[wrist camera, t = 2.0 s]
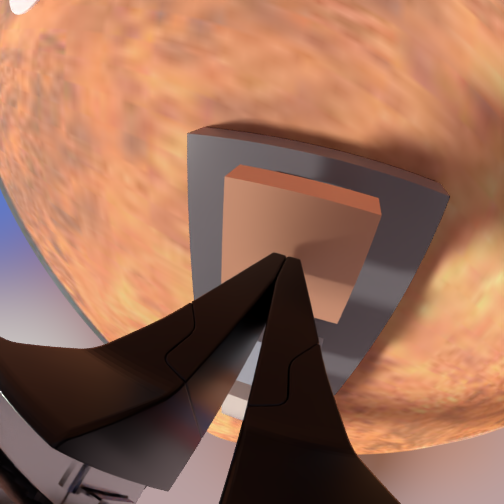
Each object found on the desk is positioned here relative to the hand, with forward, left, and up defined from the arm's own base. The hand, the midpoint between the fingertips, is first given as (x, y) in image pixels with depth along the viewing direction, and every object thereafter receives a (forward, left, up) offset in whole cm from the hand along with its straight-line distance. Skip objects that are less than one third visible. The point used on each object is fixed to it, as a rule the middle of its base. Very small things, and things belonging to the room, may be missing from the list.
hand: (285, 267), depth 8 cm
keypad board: (-7, 0, -5) cm, 9 cm away
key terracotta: (0, 0, -3) cm, 3 cm away
